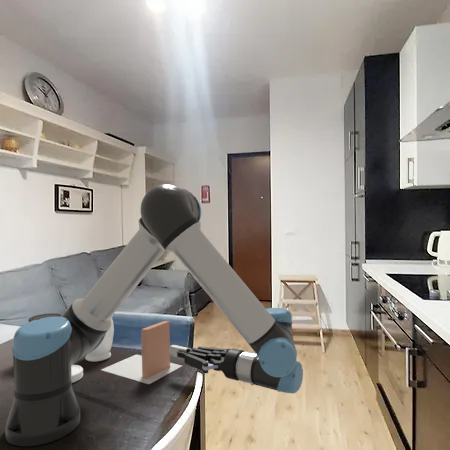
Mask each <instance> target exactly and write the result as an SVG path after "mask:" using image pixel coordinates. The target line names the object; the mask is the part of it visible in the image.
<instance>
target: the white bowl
mask: <svg viewBox="0 0 450 450" xmlns="http://www.w3.org/2000/svg"><path fill="white" fill-rule="evenodd" d="M71 377H72V378H71V380H72V384H73V383H77V382H78V381H79V380H81V379H82V378H83V377H84V368H83V367H82V366H81V365H78V364H73V365H72V366H71Z"/></svg>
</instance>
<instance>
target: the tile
mask: <svg viewBox="0 0 450 450" xmlns="http://www.w3.org/2000/svg"><path fill="white" fill-rule="evenodd" d="M170 324H171V323H170V321H169V320H164V321H160V322H157V323H155V324H151V325H149V326H146V327H144V328H143V327H142V328H141V329H140V330H141V332H140V333H141V356H142V377H144V378H147V379H148V378H150V377H151V376H153V375H155V374H157V373H159V372H161V371H163V370H165V369H167V368H168V367H170V363H171V356H170V346H171V341H170V338H171V337H170V335H171V334H170V332H171V331H170Z"/></svg>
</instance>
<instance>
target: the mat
mask: <svg viewBox="0 0 450 450" xmlns="http://www.w3.org/2000/svg"><path fill="white" fill-rule="evenodd" d="M181 367H183V365H181V364H177V363H174V362H170V367H168V368H167V369H165V370H163V371H161V372H159V373H157V374H155V375H153V376H151V377H150V378H148V379H147V378H144V377H142V354H141V355H140V354H134V355H131V356H130V357H128V358H125V359H123V360H120V361H118V362H116V363H113V364H110V365H108V366H105V367H104V368H101V369H100V371H103V372H106V373H110V374H112V375H116V376H119V377H123V378H126V379H130V380H134V381H137V382H139V383H143V384H146V385H151V384H152V383H154V382H156V381H158V380H159V379H162V378H163V377H165V376H167V375H169V374H170V373H172V372H174V371H177V369H180V368H181Z"/></svg>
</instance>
